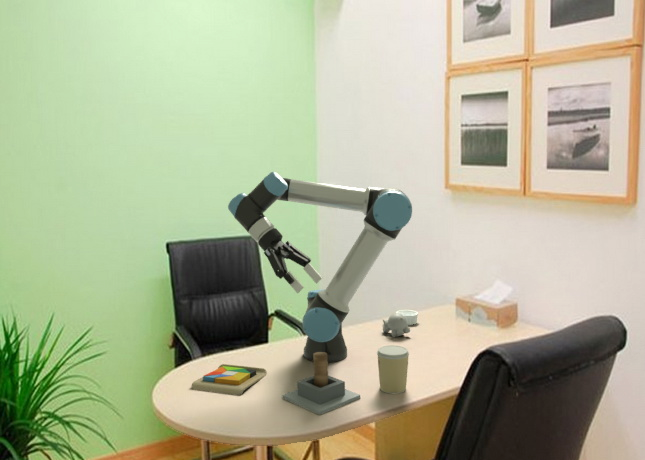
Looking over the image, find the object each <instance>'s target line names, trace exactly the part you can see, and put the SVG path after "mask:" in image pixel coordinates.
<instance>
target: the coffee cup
mask: <svg viewBox="0 0 645 460" xmlns="http://www.w3.org/2000/svg"><path fill="white" fill-rule="evenodd" d="M376 354H377V365H378V366H377V367H378V377H379V378H378V379H379V381H378V382H379V389H380V391H381V392H383V393H384V394H385V393H386V394H390V395H393V394H394V395H395V394H402V393H404V392H406V390H407V382H408V379H407V378H408V367H409V355H410V352H409V350H408V349H407V348H406V347H404V346H401V345H394V344H393V345H384V346H381V347H379V348H378V350H377V352H376Z"/></svg>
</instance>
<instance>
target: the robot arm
mask: <svg viewBox="0 0 645 460" xmlns="http://www.w3.org/2000/svg"><path fill="white" fill-rule="evenodd" d="M276 201H284V202H290V203H291V202H293V203H299V204H306V205H312V206H318V207H319V206H320V207H326V208H333V209H340V210H346V211H347V210H348V211H354V212H359V213H362V214H363V215H364V216H365V217H364V219H363V224H364V226H363V227H364V228H363V229H362V231H361V233H359V236H357V239H356V241H355V242H354V244H353V245H352V247H351V248H350V250H349V251H348V253H347V255H346V256H345V258H344V259H343V261H342V263H341V264H340V266H339V267H338V268H337V271H336V272H335V274H334V275H333V277H332V279H331V280H330V282H329V284H328V285H327V287H326V289H313V290H309V291H308V292H307V298H306V300H307V308H306V310H305V313H304V314H303V316H302V329H303V331H304V333H305V335H306V336H307V337H306V341H305V346H304V347H303V357H304V358H305V359H307V360H308V361H310V362H314V356H313V354H314V353H316V352H326V353H327V361H328V363H334V362H339V361H342V360H344V359H346V358H347V357H348V347H347V345H346V342H345V341H346V340H345V338H344V336H343V327H342V325H343V323H344V320H345V319H346V317H347V316H348V314H349V312H350V306H349V304H350V302H351V300H352V299H353V298H354V296H355V294H356V292H357V291H358V289H359V288H360V287H361V285H362V283H363V281H365V279H366V277H367V275H368V274H369V273H370V271H371V269H372V267H373V266H374V264H375V263H376V261H377V259H378V258H379V257H380V255H381V253H382V252H383V250H384V248H385V247H386V245H387V244H388V242H390V241H395V240H396V238H397V237H398V235H399V234H400V232H401V231H402V229H403V228H404V227H405V226H406V225H408V224H409V222H410V220H411V218H412V215H413V207H412V206H413V205H412V202H411V200H410V198H409V197H408V195H406V193H404V191H402V190H401V189H398V188H394V187H371V186H369V187H367V188H360V187H359V188H357V187H349V186H343V185H337V184H330V183H322V182H317V181H316V182H315V181H307V180H300V179H293V178H291V179H290V178H286V177H282V176H281V175H280V174H278V173H277V172H276V171H271V172H270V173H268V174H267V175H266V176H265V177H264V178H262V180H261V181H260V183H258V184H257V185H256V187H254V189H252V190H251V192H249V193H248V194H246V193H244V192H241V193H238V194H237V195H236V196H235V197H233V198H232V199H231V200H230V201H229V203H228V205H227V208H228V210H229V213H231V215H232V216H233V217H234V219H235V220H236V221H237V222H238V224H240V225H241V227H242V228H244V230H245V231H246V232H247V233H248V234H249V235H250V237H251V239H253V240H254V241H255V242H256V243H257V244H258V246H259V247H260V248H261V249H262V251H264V252H263V254H264V255H265V257H266V258H267V259H268V263H269V264H270V266H271V267H272V271H273V272H274V274H275V276H276V277H278V278H279V279H280V280H282V278H283V279H284V280H285V281H286V282H287V283H288V285H289V286H290V287H291V288H292V289H293V290H294V291H295V293H296V294H299V293H300V292H301V291H302V290H303V289H304V288H305V286H304V285H303V284H302V283H301V282H300V280H299V279H297V277H296V276H295V275H294V274H293V272H292V271H290V270H288V267H287V264H286V261H285V259H286V260H291V261H292V262H294V263H295V264H297V265H299V266H301V267H302V269H303V271H305V273H306V274H307V275H308V276H309V277H310V278H311V279H312V281H313V282H314V283H315V284H319V282H320V281H321V280H322V279H323V277H322V275H321V274H320V273H319V272H318V270H316V269H315V267H314V266H313V265H312V264H311V262H312V259H311V257H309V256H308V255H306V254H305V253H303V252H302V251H301V250H300V249H298V248H297V247H296V246H294V245H293V244H292V243H291V242H290V241H289V240H286V241H285V242H284V241H282V239H283V234H282V233H281V232H280V231H279V230H278V229H277V227H275V225H274V224H273V223H272V222H271V221H270V220H269V219H268V218H267V216H266V215H265V214H264V213H265V212H266V211H267V210H268V209H269V208H270V207H271V206H272V205H273V204H274V203H275V202H276Z"/></svg>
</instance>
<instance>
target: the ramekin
mask: <svg viewBox="0 0 645 460" xmlns="http://www.w3.org/2000/svg"><path fill="white" fill-rule="evenodd" d="M395 313H399V314H402V315H403V316H404V317H405V318H406V320H407V326H414V325H416V324H417V322H418V316H419V312H418V311H416V310H411V309H401V310H397V311H396V312H395ZM413 324H414V325H413Z"/></svg>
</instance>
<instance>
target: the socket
mask: <svg viewBox="0 0 645 460" xmlns="http://www.w3.org/2000/svg"><path fill="white" fill-rule="evenodd" d="M296 382H297V384H296V385H297V389H295V390H291V391H290V392H289V391H288V392H286V393H284V394H281V395H282V396H281V397H282V399H283V400H285V401H287V402H290V403H292V404H295V405H297V406H299V407H302V408H304V409H305V410H308V411H309V412H312V413H314V414H317V415H318V416H320V415H323V414H325V413H328V412H330V411H333V410H336V409H337V408H341V407H343V406H345V405H347V404H351V403H352V402H355V401H357V400H359V399H361V394H358V393H356V392H354V391H352V390H349V389H346V386H345V385H346V384H345V383H346V382H345V381H344V380H342V379H338V378H336V377H334V376H331V375H328V385H327V386H324V387H321V388H319V387H317V386H314V375H312V376H310V377H306V378H304V379H301V380H299V381H296Z"/></svg>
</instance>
